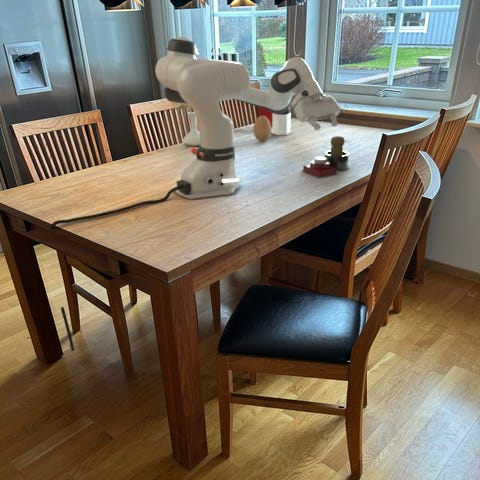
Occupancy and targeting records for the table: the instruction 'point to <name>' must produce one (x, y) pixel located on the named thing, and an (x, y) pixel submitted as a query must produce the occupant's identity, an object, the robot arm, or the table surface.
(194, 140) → the flower in vase
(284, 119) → the jar
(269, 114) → the plastic cup
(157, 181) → the table surface
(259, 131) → the egg
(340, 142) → the olive yellow knobbed peg
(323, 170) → the panel
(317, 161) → the button
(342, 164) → the cup
